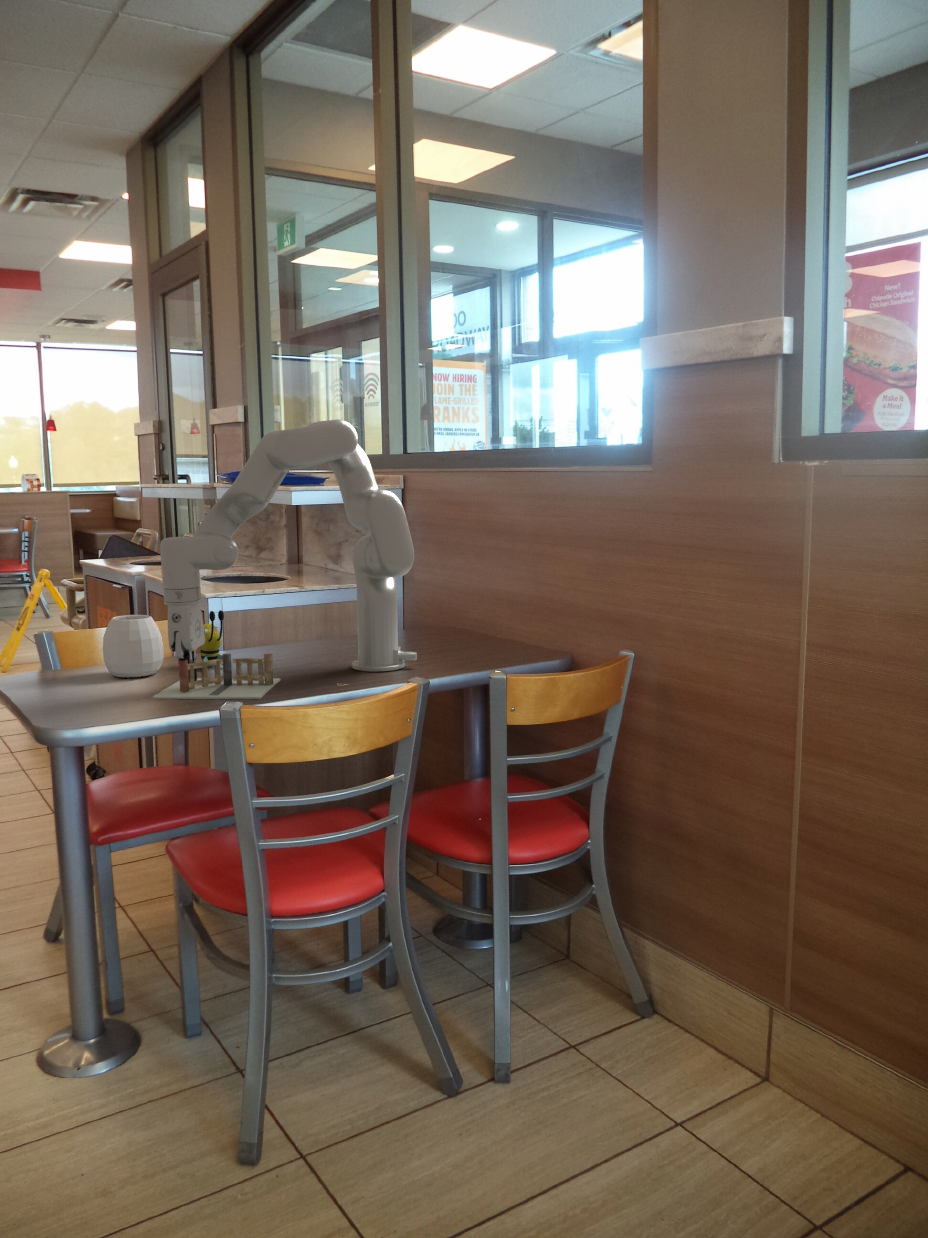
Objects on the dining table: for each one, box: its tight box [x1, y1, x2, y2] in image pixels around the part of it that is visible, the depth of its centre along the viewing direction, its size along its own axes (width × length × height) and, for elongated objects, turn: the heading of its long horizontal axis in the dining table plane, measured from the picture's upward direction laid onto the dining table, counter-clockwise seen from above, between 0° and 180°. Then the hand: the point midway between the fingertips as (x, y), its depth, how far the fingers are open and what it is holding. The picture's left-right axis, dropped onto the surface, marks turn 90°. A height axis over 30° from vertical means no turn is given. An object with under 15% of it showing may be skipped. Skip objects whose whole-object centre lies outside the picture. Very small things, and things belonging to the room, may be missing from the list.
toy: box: [199, 609, 225, 667], centre depth 230 cm, size 6×14×15 cm
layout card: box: [152, 677, 281, 700], centre depth 206 cm, size 22×19×1 cm
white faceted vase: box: [102, 614, 164, 678], centre depth 221 cm, size 13×13×14 cm
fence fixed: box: [221, 653, 274, 685], centre depth 208 cm, size 11×2×7 cm, turn 88°
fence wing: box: [178, 659, 224, 692], centre depth 204 cm, size 10×2×6 cm, turn 138°
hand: (188, 681), depth 205 cm, fingers closed
